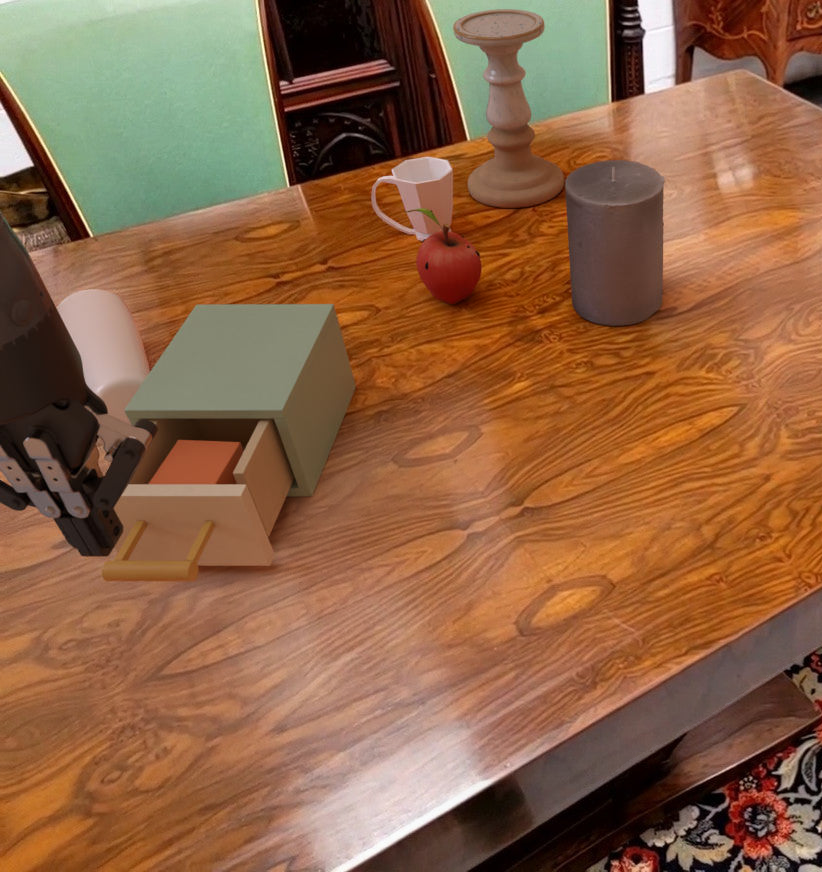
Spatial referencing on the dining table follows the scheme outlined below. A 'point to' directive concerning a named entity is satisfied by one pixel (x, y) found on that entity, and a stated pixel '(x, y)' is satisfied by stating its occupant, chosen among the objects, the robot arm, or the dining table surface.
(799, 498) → the dining table surface
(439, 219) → the cup
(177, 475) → the block
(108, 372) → the drinking glass
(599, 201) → the pillar candle
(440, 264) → the apple
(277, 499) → the drawer
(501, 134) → the candle holder
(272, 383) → the cabinet
